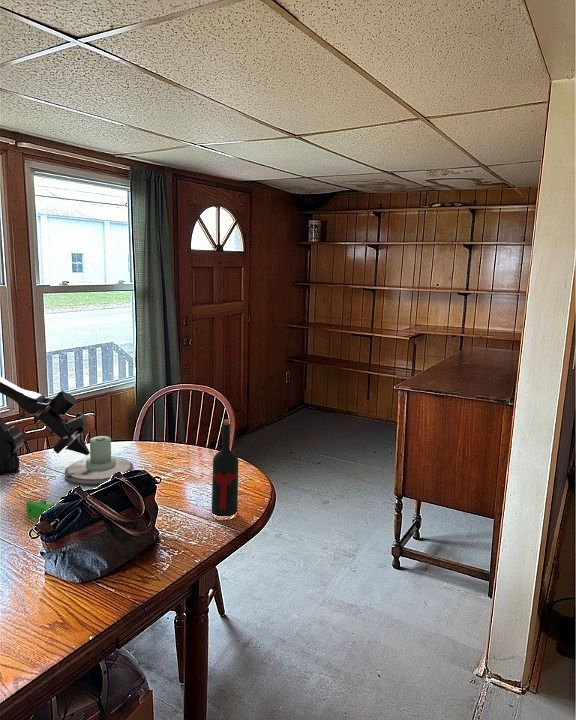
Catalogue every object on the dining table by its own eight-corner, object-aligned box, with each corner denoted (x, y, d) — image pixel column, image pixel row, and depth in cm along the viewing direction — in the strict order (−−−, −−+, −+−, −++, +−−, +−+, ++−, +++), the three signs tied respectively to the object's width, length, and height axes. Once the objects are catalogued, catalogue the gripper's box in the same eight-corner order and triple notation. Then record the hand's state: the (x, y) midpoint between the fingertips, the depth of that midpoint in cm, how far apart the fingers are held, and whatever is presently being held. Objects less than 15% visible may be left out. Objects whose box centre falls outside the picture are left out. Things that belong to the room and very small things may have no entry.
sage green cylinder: (91, 473, 176) (91, 445, 175) (81, 464, 184) (81, 437, 182) (120, 467, 183) (119, 440, 181) (109, 458, 190) (108, 432, 188)
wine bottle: (208, 524, 150) (210, 426, 145) (213, 508, 160) (214, 416, 155) (235, 525, 150) (238, 427, 145) (238, 509, 160) (240, 416, 155)
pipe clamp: (64, 521, 149) (63, 506, 148) (53, 526, 145) (52, 511, 145) (38, 511, 154) (37, 497, 153) (26, 516, 150) (26, 501, 150)
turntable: (76, 491, 167) (76, 484, 167) (56, 469, 185) (56, 462, 184) (143, 476, 182) (143, 469, 181) (119, 456, 199) (119, 450, 199)
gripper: (61, 415, 170) (96, 448, 172) (81, 401, 188) (112, 430, 191) (38, 437, 171) (73, 469, 173) (59, 421, 189) (91, 450, 191)
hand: (88, 453), depth 182 cm, fingers closed
